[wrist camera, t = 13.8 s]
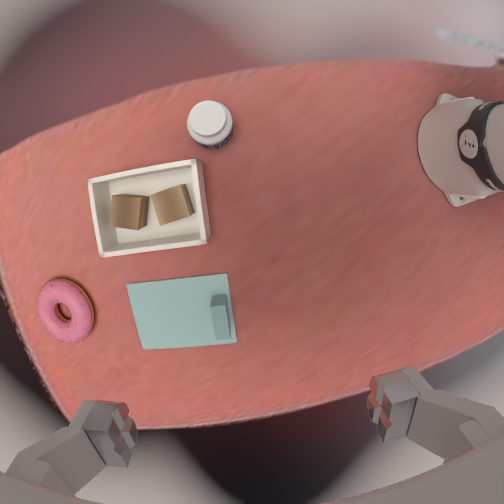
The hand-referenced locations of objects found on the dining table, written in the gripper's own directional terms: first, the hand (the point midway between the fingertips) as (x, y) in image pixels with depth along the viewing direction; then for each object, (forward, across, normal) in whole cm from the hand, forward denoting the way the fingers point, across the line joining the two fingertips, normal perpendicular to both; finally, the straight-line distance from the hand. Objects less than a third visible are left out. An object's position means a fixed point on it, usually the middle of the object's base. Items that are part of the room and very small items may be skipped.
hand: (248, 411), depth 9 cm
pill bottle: (+34, +2, -14) cm, 37 cm away
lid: (+35, +10, +11) cm, 38 cm away
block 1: (+33, +14, -5) cm, 37 cm away
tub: (+34, +11, -5) cm, 36 cm away
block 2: (+33, +8, -5) cm, 35 cm away
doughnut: (+34, +29, +8) cm, 46 cm away
